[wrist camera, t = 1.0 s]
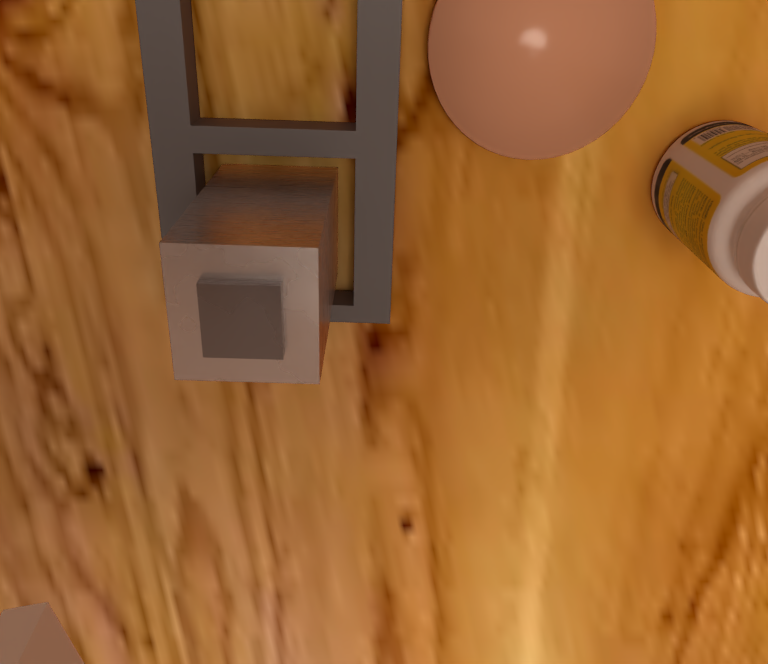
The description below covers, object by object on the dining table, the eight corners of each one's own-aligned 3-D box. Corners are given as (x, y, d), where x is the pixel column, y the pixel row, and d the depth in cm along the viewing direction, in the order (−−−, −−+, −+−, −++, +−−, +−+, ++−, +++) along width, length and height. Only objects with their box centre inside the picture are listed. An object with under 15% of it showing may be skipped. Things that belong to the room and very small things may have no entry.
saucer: (421, 151, 29) (422, 156, 28) (434, -86, 25) (435, -87, 24) (627, 158, 29) (633, 163, 28) (670, -78, 25) (678, -79, 24)
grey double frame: (179, 301, 32) (170, 316, 30) (139, -88, 25) (125, -91, 24) (390, 308, 32) (389, 323, 30) (404, -79, 25) (405, -81, 24)
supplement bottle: (705, 259, 31) (807, 357, 23) (623, 192, 29) (703, 272, 22) (798, 167, 29) (942, 240, 21) (716, 91, 27) (838, 142, 20)
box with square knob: (230, 270, 31) (171, 386, 23) (223, 163, 29) (155, 247, 20) (337, 273, 31) (318, 391, 23) (337, 167, 29) (316, 252, 21)
